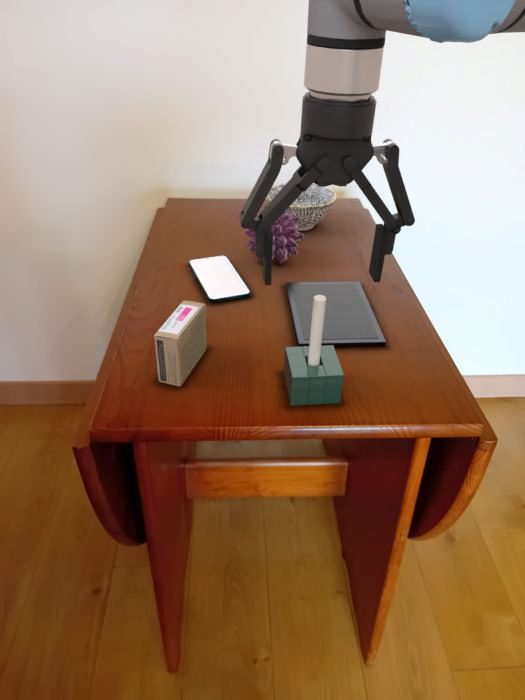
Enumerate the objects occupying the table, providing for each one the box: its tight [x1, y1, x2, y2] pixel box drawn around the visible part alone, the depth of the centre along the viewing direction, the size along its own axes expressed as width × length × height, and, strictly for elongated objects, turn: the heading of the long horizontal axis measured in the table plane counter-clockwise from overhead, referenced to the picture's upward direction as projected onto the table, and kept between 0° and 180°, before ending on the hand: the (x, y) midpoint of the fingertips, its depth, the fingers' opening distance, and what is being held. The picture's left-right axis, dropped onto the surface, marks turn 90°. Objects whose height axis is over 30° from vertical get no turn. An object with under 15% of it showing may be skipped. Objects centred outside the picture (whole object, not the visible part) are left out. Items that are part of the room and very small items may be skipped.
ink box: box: [153, 300, 208, 388], centre depth 79 cm, size 10×4×8 cm, turn 162°
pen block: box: [283, 345, 345, 407], centre depth 76 cm, size 7×7×5 cm
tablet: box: [285, 281, 387, 349], centre depth 93 cm, size 20×14×1 cm
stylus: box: [308, 295, 326, 366], centre depth 73 cm, size 2×2×15 cm
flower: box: [244, 204, 305, 264], centre depth 107 cm, size 12×12×12 cm
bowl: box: [266, 182, 338, 232], centre depth 123 cm, size 16×16×8 cm
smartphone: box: [188, 255, 251, 304], centre depth 102 cm, size 8×1×16 cm
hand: (321, 278), depth 67 cm, fingers open, 13 cm apart
